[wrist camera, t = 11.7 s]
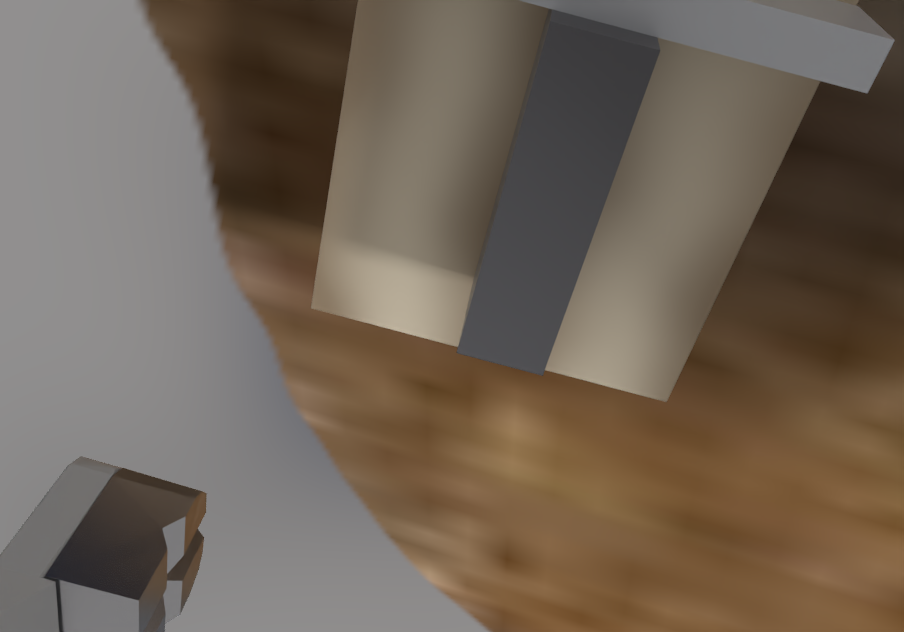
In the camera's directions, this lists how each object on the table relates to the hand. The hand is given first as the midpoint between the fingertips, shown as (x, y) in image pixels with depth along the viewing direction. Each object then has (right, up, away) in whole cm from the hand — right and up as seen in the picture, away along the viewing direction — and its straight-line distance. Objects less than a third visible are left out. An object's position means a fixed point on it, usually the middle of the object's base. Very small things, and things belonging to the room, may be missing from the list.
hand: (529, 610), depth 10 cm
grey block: (+2, +9, +13) cm, 16 cm away
